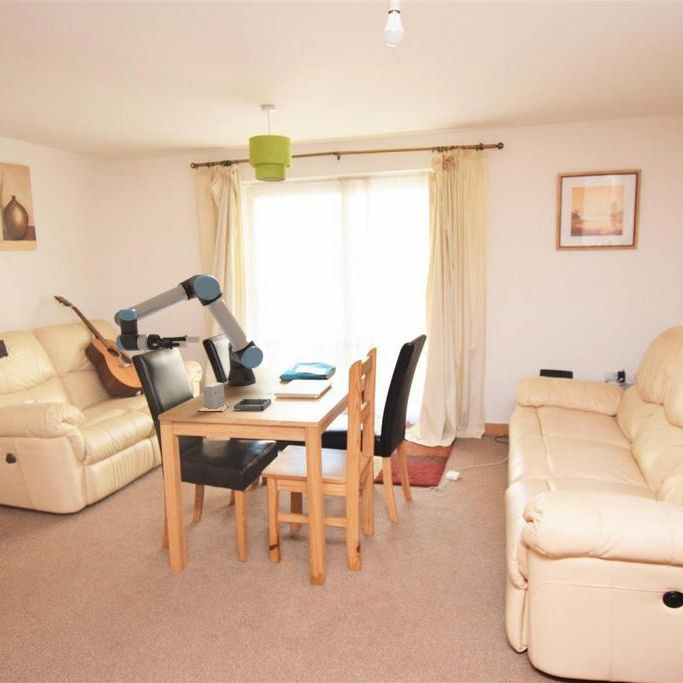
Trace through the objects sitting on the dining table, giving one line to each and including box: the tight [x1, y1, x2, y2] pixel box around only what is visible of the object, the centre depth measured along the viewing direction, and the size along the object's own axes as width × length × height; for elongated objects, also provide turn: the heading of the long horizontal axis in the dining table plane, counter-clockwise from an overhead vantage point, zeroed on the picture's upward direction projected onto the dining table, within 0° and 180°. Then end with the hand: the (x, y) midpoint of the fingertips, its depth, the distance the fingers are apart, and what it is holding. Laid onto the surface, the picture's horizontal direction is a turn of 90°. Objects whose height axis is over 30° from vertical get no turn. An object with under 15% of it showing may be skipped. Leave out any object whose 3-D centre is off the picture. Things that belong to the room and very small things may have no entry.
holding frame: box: [233, 398, 272, 411], centre depth 260 cm, size 12×13×2 cm
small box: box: [202, 381, 226, 409], centre depth 259 cm, size 8×6×10 cm
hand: (193, 341), depth 261 cm, fingers open, 13 cm apart
